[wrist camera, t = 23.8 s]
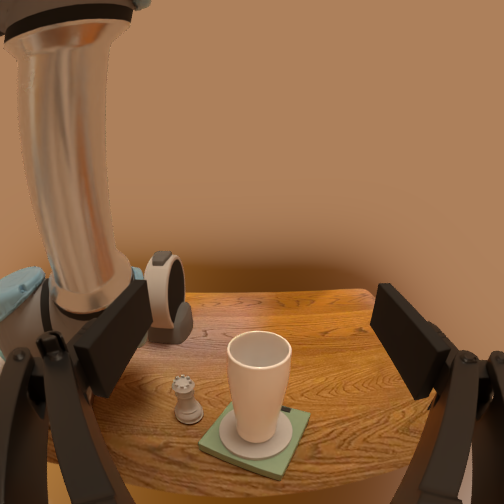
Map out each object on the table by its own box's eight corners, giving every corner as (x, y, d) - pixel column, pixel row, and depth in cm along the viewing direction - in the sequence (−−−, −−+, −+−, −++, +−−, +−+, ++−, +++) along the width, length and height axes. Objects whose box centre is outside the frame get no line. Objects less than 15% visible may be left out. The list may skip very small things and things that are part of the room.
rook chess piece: (170, 411, 37) (161, 377, 34) (193, 401, 39) (187, 366, 37) (185, 429, 33) (176, 396, 31) (209, 417, 36) (204, 383, 34)
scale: (199, 449, 30) (196, 439, 29) (238, 399, 40) (238, 388, 40) (280, 481, 25) (282, 473, 24) (308, 420, 36) (311, 409, 35)
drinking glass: (244, 456, 27) (243, 377, 23) (223, 421, 33) (216, 338, 28) (290, 437, 30) (305, 355, 26) (266, 406, 36) (271, 324, 31)
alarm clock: (185, 350, 53) (175, 267, 47) (140, 345, 53) (124, 265, 47) (197, 311, 68) (193, 242, 63) (160, 309, 68) (152, 242, 63)
